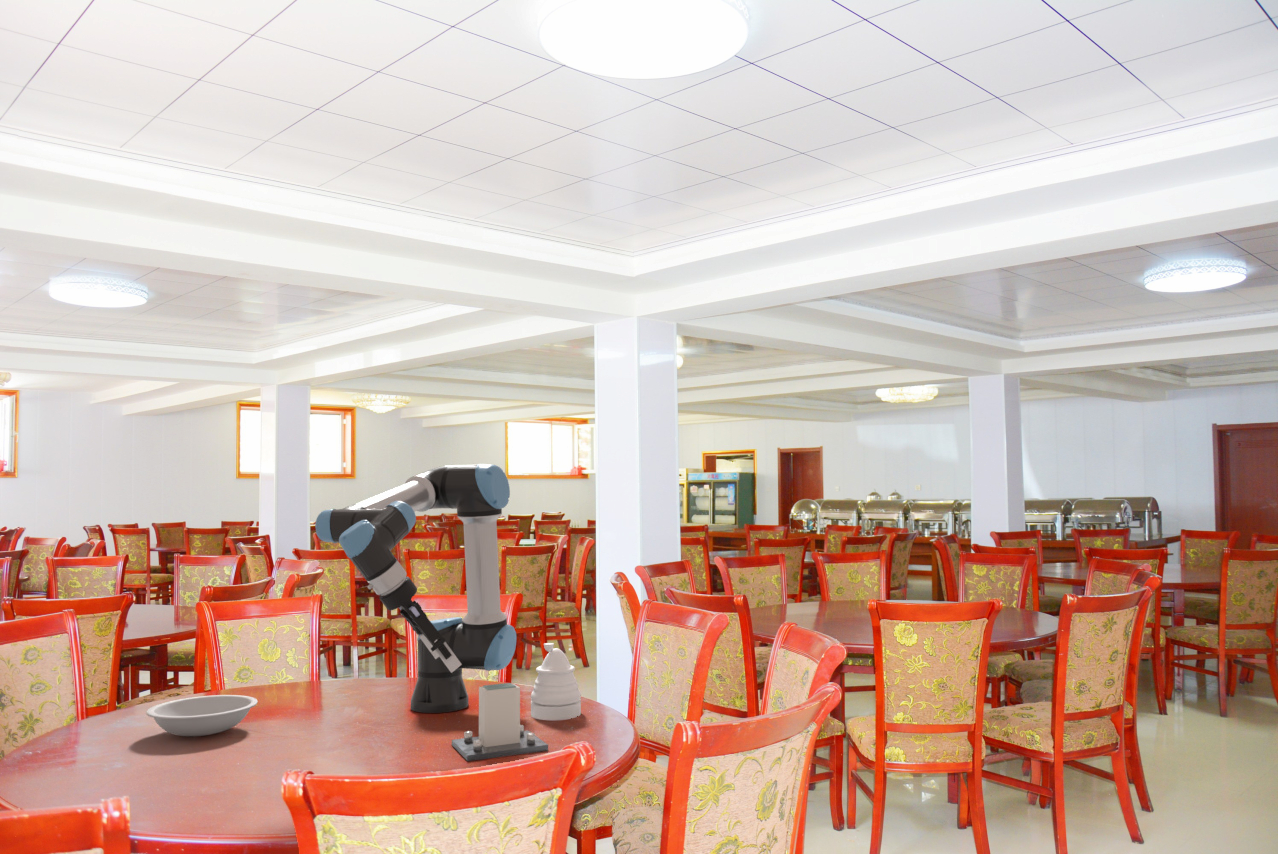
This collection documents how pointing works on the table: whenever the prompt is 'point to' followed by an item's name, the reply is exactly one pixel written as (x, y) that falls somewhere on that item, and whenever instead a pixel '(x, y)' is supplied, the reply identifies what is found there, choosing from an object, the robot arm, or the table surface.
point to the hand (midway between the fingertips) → (448, 661)
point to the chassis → (476, 751)
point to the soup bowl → (201, 714)
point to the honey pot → (555, 688)
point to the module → (499, 714)
